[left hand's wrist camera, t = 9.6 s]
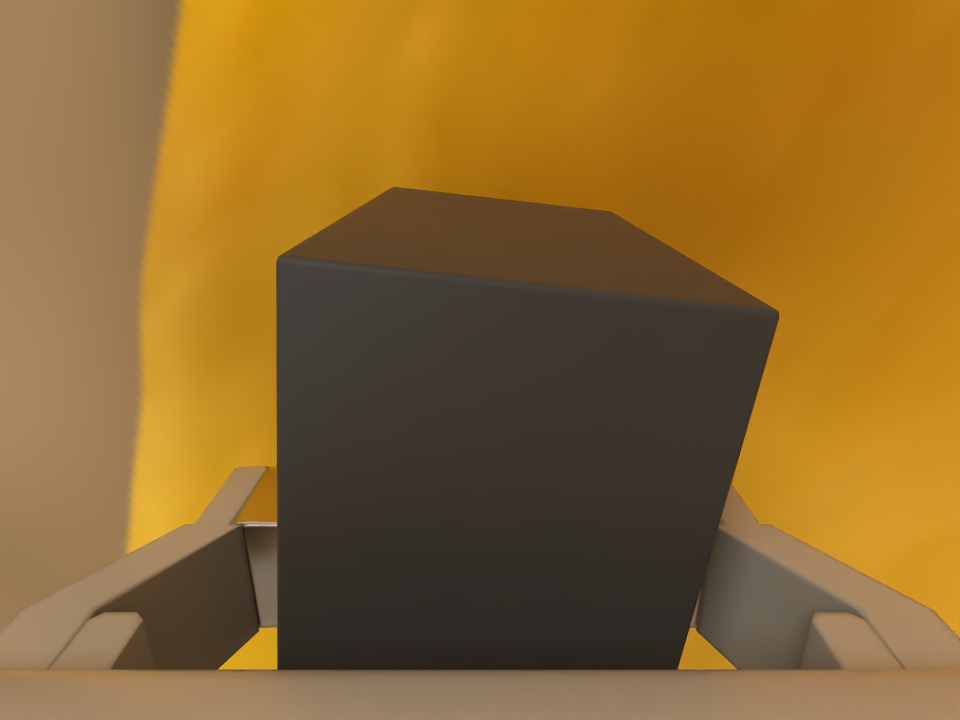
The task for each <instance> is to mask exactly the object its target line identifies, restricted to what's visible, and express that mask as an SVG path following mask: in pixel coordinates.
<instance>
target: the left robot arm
mask: <svg viewBox="0 0 960 720" xmlns="http://www.w3.org/2000/svg"><path fill="white" fill-rule="evenodd" d="M271 627H277V467H268V466H259V467H239V468H235V469H234V470H233V472H232V473H231V474H230V476H229V477H228V479H227V480H226V482H225V483H224V484H223V486H222V487H221V489H220V490H219V491H218V493H217V494H216V496H215V497H214V498H213V500H212V501H211V503H210V504H209V505H208V507H207V508H206V510H205V511H204V512H203V514H202V515H201V517H200V518H199V519H198V521H197V522H196V524H195V525H183V526H181V527H179V528H177V529H176V530H174V531H172V532H170V533H168V534H166V535H164V536H162V537H160V538H158V539H156V540H154V541H152V542H150V543H149V544H147V545H145V546H143V547H141V548H139V549H137V550H135V551H133V552H131V553H129V554H127V555H125V556H123V557H122V558H120V559H118V560H116V561H114V562H112V563H110V564H108V565H106V566H104V567H102V568H100V569H98V570H96V571H95V572H93V573H91V574H89V575H87V576H85V577H83V578H81V579H79V580H77V581H75V582H73V583H71V584H69V585H68V586H66V587H64V588H62V589H60V590H58V591H56V592H54V593H52V594H50V595H48V596H46V597H44V598H42V599H41V600H39V601H37V602H35V603H33V604H31V605H29V606H27V607H25V608H23V609H21V610H20V611H19V612H18V613H17V614H16V615H15V617H14V618H13V619H12V620H11V621H10V622H9V623H8V624H7V625H6V626H5V627H4V628H3V629H2V630H1V631H0V720H960V638H959V637H958V636H957V635H956V634H955V633H954V632H953V630H952V629H951V628H950V627H949V626H948V625H947V624H946V623H945V622H944V621H943V620H942V619H941V617H940V616H939V615H938V614H937V613H936V612H935V611H934V610H932V609H930V608H928V607H926V606H924V605H923V604H921V603H919V602H917V601H915V600H913V599H911V598H909V597H907V596H905V595H903V594H902V593H900V592H898V591H896V590H894V589H892V588H890V587H888V586H886V585H884V584H882V583H881V582H879V581H877V580H875V579H873V578H871V577H869V576H867V575H865V574H863V573H861V572H860V571H858V570H856V569H854V568H852V567H850V566H848V565H846V564H844V563H842V562H840V561H839V560H837V559H835V558H833V557H831V556H829V555H827V554H825V553H823V552H821V551H819V550H818V549H816V548H814V547H812V546H810V545H808V544H806V543H804V542H802V541H800V540H798V539H797V538H795V537H793V536H791V535H789V534H787V533H785V532H783V531H781V530H779V529H778V528H776V527H774V526H772V525H760V523H759V522H758V521H757V519H756V518H755V516H754V515H753V514H752V512H751V511H750V509H749V508H748V507H747V505H746V504H745V502H744V501H743V499H742V498H741V497H740V495H739V494H738V492H737V491H736V490H735V488H734V487H733V485H732V484H731V486H730V489H729V493H728V496H727V500H726V503H725V507H724V510H723V514H722V517H721V520H720V524H719V527H718V531H717V534H716V538H715V541H714V545H713V548H712V552H711V555H710V558H709V562H708V565H707V569H706V572H705V576H704V579H703V583H702V586H701V590H700V593H699V597H698V600H697V603H696V607H695V610H694V614H693V617H692V621H691V624H690V628H697V629H696V631H697V632H698V633H699V634H701V635H702V636H703V637H704V638H705V639H706V640H707V641H708V642H709V643H710V644H711V645H712V646H713V647H714V648H716V649H717V650H718V651H719V652H720V653H721V654H722V655H723V656H724V657H725V658H726V659H727V660H728V661H729V662H731V663H732V664H733V665H734V666H735V667H736V668H737V669H738V670H217V669H218V668H220V667H221V666H222V665H223V664H224V663H225V662H226V661H227V660H228V659H229V658H230V657H231V656H232V655H234V654H235V653H236V652H237V651H238V650H239V649H240V648H241V647H242V646H243V645H244V644H245V643H247V642H248V641H249V640H250V639H251V638H252V637H253V636H254V635H255V634H256V633H257V632H258V631H259V628H271Z"/></svg>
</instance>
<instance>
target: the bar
mask: <svg viewBox="0 0 960 720" xmlns="http://www.w3.org/2000/svg"><path fill="white" fill-rule="evenodd" d="M276 286H277V647H278V670H677V669H678V666H679V662H680V659H681V655H682V652H683V648H684V645H685V642H686V638H687V635H688V631H689V628H690V624H691V621H692V617H693V614H694V610H695V607H696V603H697V600H698V597H699V593H700V590H701V586H702V583H703V579H704V576H705V572H706V569H707V565H708V562H709V558H710V555H711V552H712V548H713V545H714V541H715V538H716V534H717V531H718V527H719V524H720V520H721V517H722V514H723V510H724V507H725V503H726V500H727V496H728V493H729V489H730V486H731V482H732V479H733V475H734V472H735V469H736V465H737V462H738V458H739V455H740V451H741V448H742V444H743V441H744V437H745V434H746V430H747V427H748V424H749V420H750V417H751V413H752V410H753V406H754V403H755V399H756V396H757V392H758V389H759V385H760V382H761V379H762V375H763V372H764V368H765V365H766V361H767V358H768V354H769V351H770V347H771V344H772V340H773V337H774V334H775V330H776V327H777V323H778V320H779V312H778V311H777V310H776V309H774V308H772V307H771V306H769V305H767V304H766V303H764V302H762V301H760V300H759V299H757V298H755V297H754V296H752V295H750V294H749V293H747V292H745V291H744V290H742V289H740V288H739V287H737V286H735V285H733V284H732V283H730V282H728V281H727V280H725V279H723V278H722V277H720V276H718V275H717V274H715V273H713V272H712V271H710V270H708V269H706V268H705V267H703V266H701V265H700V264H698V263H696V262H695V261H693V260H691V259H690V258H688V257H686V256H685V255H683V254H681V253H679V252H678V251H676V250H674V249H673V248H671V247H669V246H668V245H666V244H664V243H663V242H661V241H659V240H658V239H656V238H654V237H652V236H651V235H649V234H647V233H646V232H644V231H642V230H641V229H639V228H637V227H636V226H634V225H632V224H631V223H629V222H627V221H626V220H624V219H622V218H620V217H619V216H617V215H615V214H614V213H612V212H608V211H599V210H591V209H582V208H573V207H564V206H556V205H547V204H538V203H529V202H521V201H512V200H503V199H494V198H486V197H477V196H468V195H460V194H451V193H442V192H433V191H425V190H416V189H407V188H398V187H393V188H391V189H389V190H387V191H386V192H384V193H382V194H381V195H379V196H377V197H376V198H374V199H373V200H371V201H369V202H368V203H366V204H364V205H363V206H361V207H359V208H358V209H356V210H354V211H353V212H351V213H349V214H348V215H346V216H345V217H343V218H341V219H340V220H338V221H336V222H335V223H333V224H331V225H330V226H328V227H326V228H325V229H323V230H321V231H320V232H318V233H316V234H315V235H313V236H312V237H310V238H308V239H307V240H305V241H303V242H302V243H300V244H298V245H297V246H295V247H293V248H292V249H290V250H288V251H287V252H285V253H284V254H282V255H280V256H279V257H278V259H277V262H276Z"/></svg>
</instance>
